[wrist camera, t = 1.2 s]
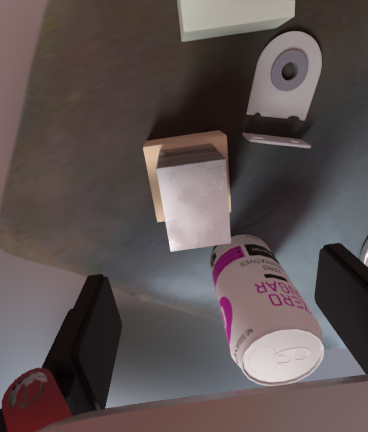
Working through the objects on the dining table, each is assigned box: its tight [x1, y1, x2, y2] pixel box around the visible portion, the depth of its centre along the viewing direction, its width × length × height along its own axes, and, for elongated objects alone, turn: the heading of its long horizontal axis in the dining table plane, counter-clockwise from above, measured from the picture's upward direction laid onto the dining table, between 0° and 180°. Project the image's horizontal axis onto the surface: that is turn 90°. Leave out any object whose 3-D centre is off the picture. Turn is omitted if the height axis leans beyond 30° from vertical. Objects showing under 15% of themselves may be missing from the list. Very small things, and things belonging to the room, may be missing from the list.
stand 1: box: [143, 130, 231, 222], centre depth 28 cm, size 8×8×4 cm
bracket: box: [242, 31, 322, 148], centre depth 26 cm, size 7×10×3 cm, turn 174°
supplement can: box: [210, 235, 324, 386], centre depth 29 cm, size 8×8×15 cm
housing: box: [156, 143, 231, 251], centre depth 23 cm, size 7×5×7 cm
